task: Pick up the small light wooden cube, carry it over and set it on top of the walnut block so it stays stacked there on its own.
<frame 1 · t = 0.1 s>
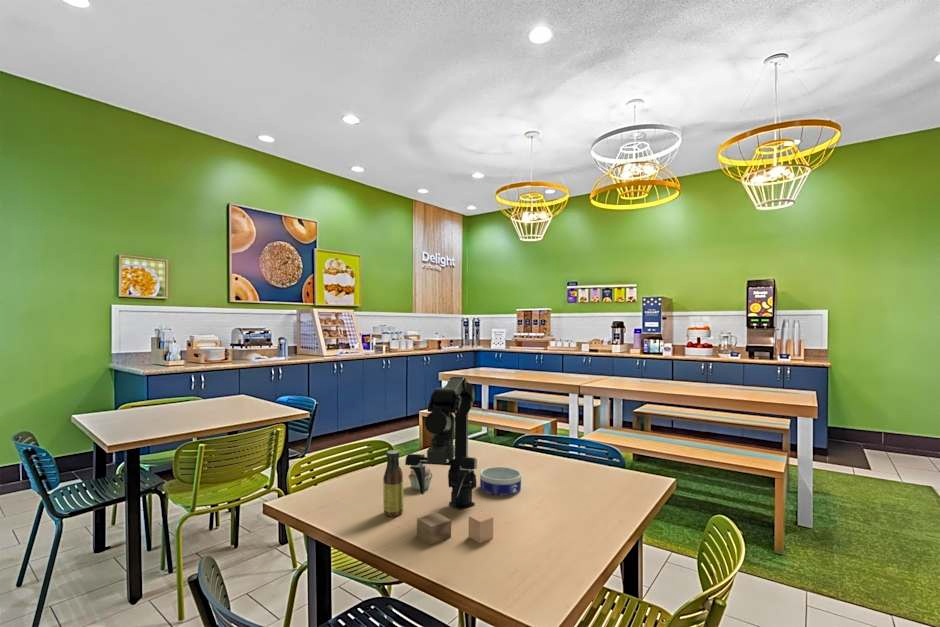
hand: (439, 495, 122), 15 cm above the table, tool pointing down, fingers open, 9 cm apart
dog bowl: (500, 489, 171), on the table
cupcake: (420, 488, 171), on the table
walnut block: (433, 536, 132), on the table
light wooden cube: (480, 537, 131), on the table
sauce bottle: (392, 514, 147), on the table
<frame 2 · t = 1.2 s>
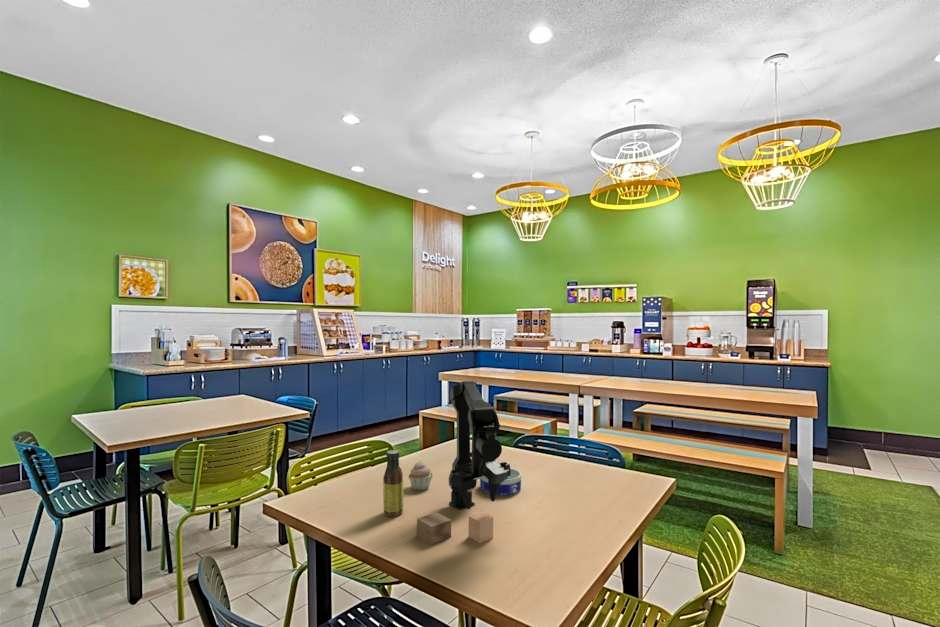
hand: (480, 504, 132), 9 cm above the table, tool pointing down, fingers open, 9 cm apart
nothing on the table moved.
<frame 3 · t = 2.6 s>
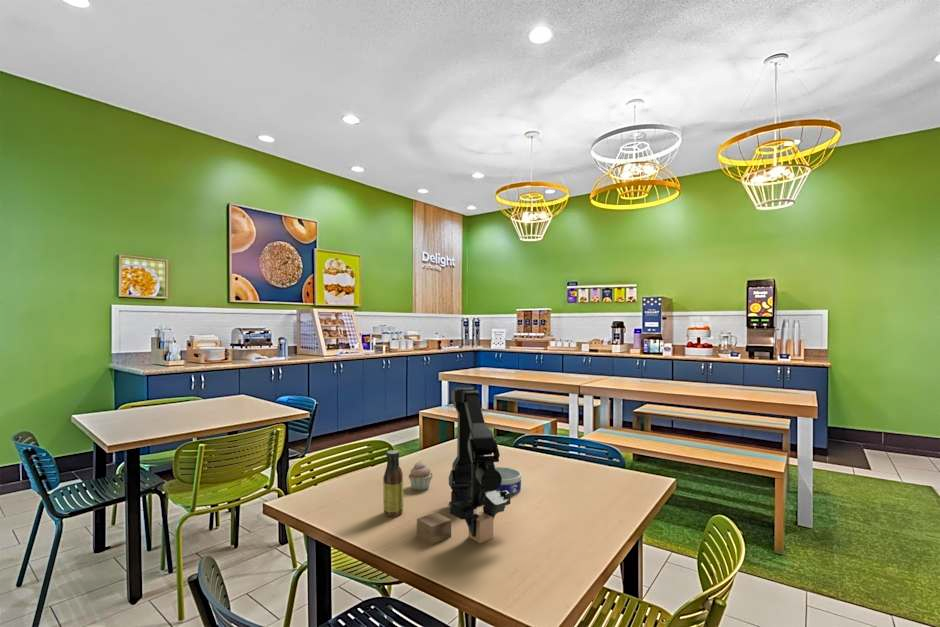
hand: (480, 533, 132), 1 cm above the table, tool pointing down, fingers closed on light wooden cube, 5 cm apart
light wooden cube: (480, 537, 131), on the table, touching gripper
everything else where it was.
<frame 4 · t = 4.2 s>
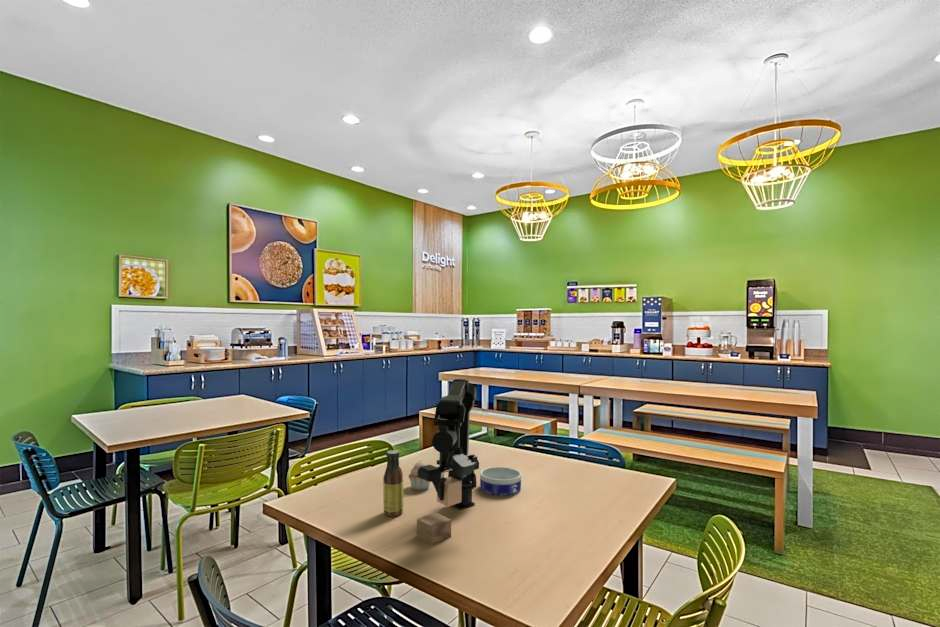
hand: (448, 497, 132), 11 cm above the table, tool pointing down, fingers closed on light wooden cube, 5 cm apart
light wooden cube: (449, 501, 132), point 10 cm above the table, touching gripper
everything else where it was.
when the fingers open (7 cm above the table, at t = 5.9 s): light wooden cube stays where it is, point 5 cm above the table.
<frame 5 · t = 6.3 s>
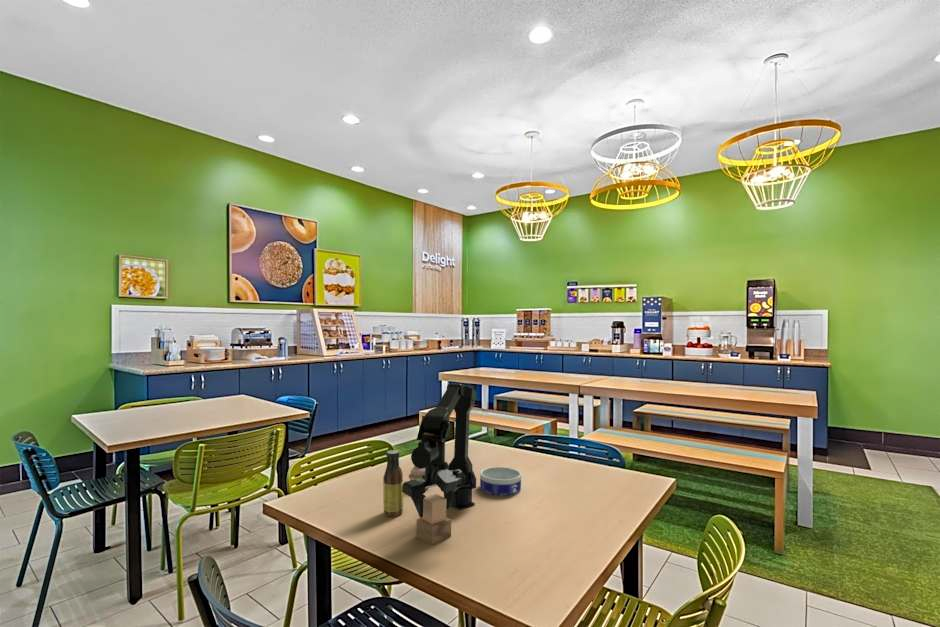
hand: (434, 512, 132), 7 cm above the table, tool pointing down, fingers open, 9 cm apart
light wooden cube: (433, 519, 132), point 5 cm above the table
everything else where it was.
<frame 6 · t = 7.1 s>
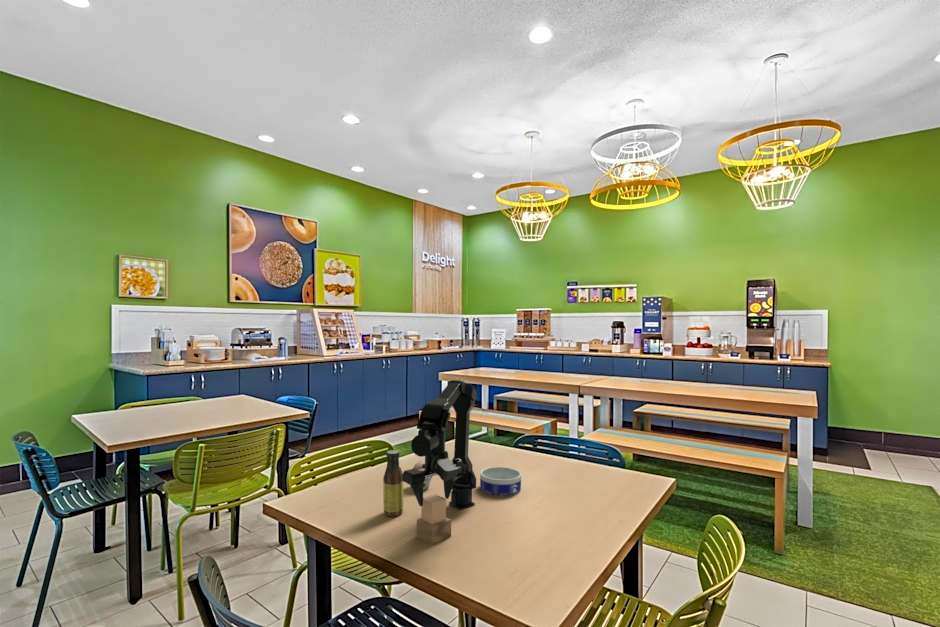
hand: (434, 502, 132), 10 cm above the table, tool pointing down, fingers open, 9 cm apart
walnut block: (433, 537, 132), on the table, touching light wooden cube
light wooden cube: (433, 519, 132), point 5 cm above the table, touching walnut block
everything else where it was.
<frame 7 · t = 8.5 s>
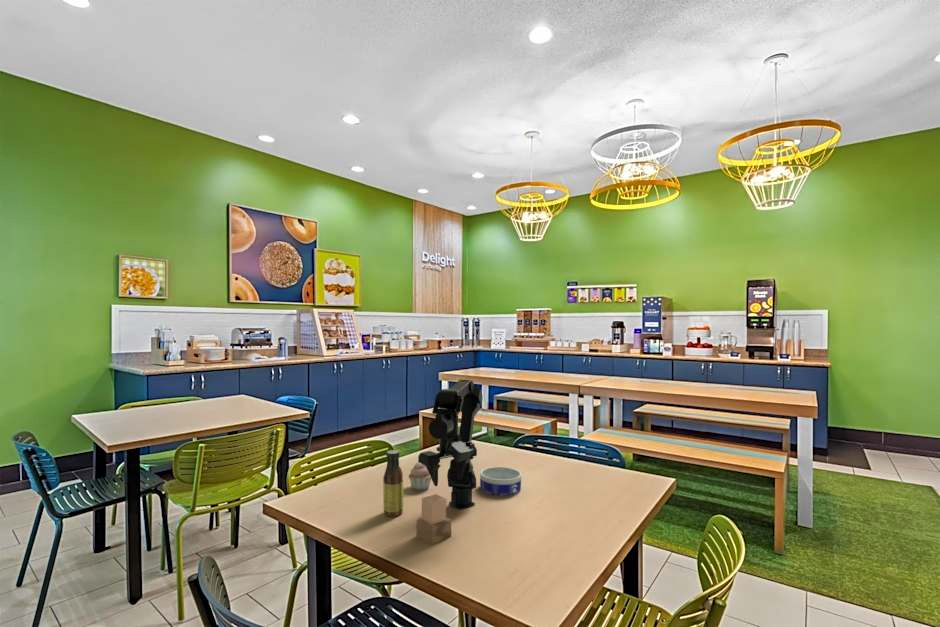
hand: (448, 482, 140), 12 cm above the table, tool pointing down, fingers open, 9 cm apart
nothing on the table moved.
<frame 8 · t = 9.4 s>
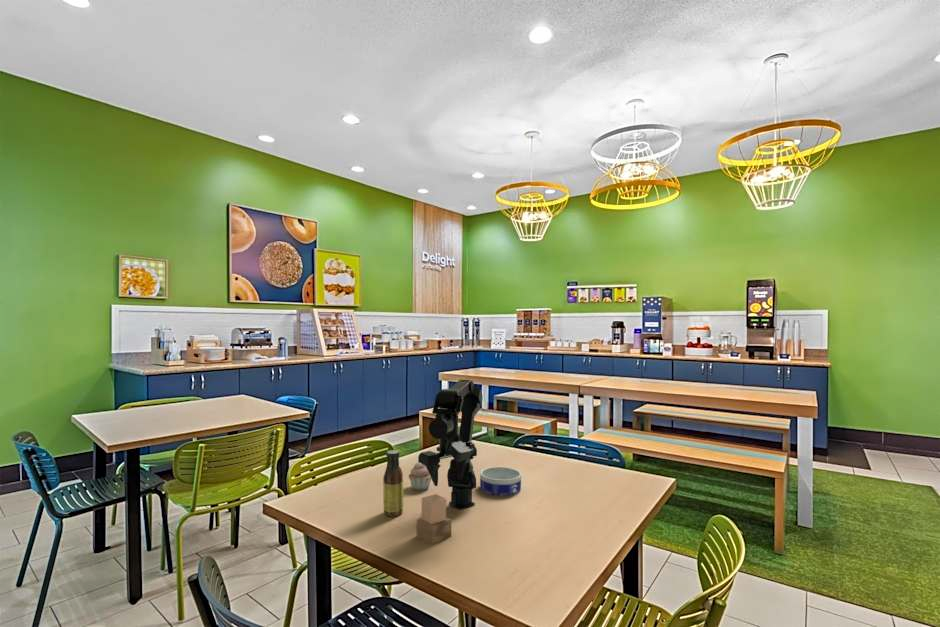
hand: (448, 482, 140), 13 cm above the table, tool pointing down, fingers open, 9 cm apart
walnut block: (434, 536, 132), on the table
light wooden cube: (433, 519, 132), point 5 cm above the table
everything else where it was.
at the end: light wooden cube 0.3 cm off-centre on the walnut block, point 5.0 cm above the walnut block's base; light wooden cube tilted 0°; the gripper is holding nothing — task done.
